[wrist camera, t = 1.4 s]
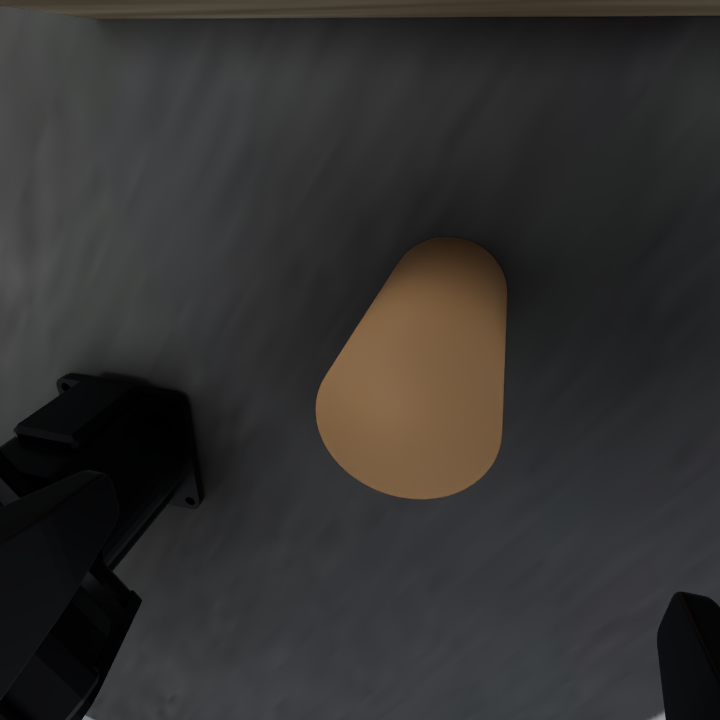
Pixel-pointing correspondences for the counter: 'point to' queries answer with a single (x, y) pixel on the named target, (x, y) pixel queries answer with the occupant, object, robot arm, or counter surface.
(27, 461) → the robot arm
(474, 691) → the counter surface
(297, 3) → the box
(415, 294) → the peg
